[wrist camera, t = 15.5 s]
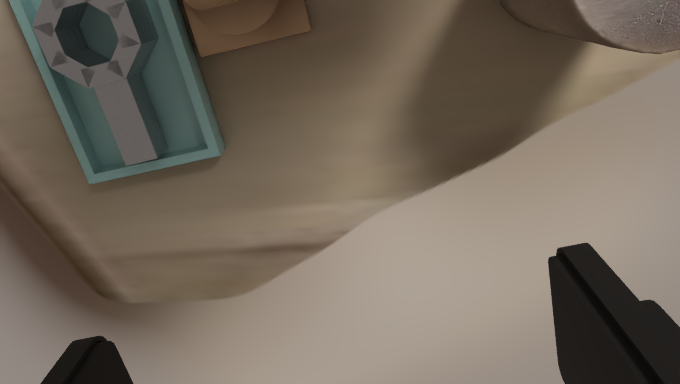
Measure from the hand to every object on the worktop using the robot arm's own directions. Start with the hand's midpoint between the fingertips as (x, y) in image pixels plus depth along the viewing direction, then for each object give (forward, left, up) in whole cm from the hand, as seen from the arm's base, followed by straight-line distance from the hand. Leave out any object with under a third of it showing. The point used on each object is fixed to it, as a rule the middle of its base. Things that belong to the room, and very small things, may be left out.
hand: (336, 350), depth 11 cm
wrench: (-4, -15, -30) cm, 34 cm away
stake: (-8, -5, -30) cm, 32 cm away
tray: (-6, -15, -30) cm, 34 cm away
